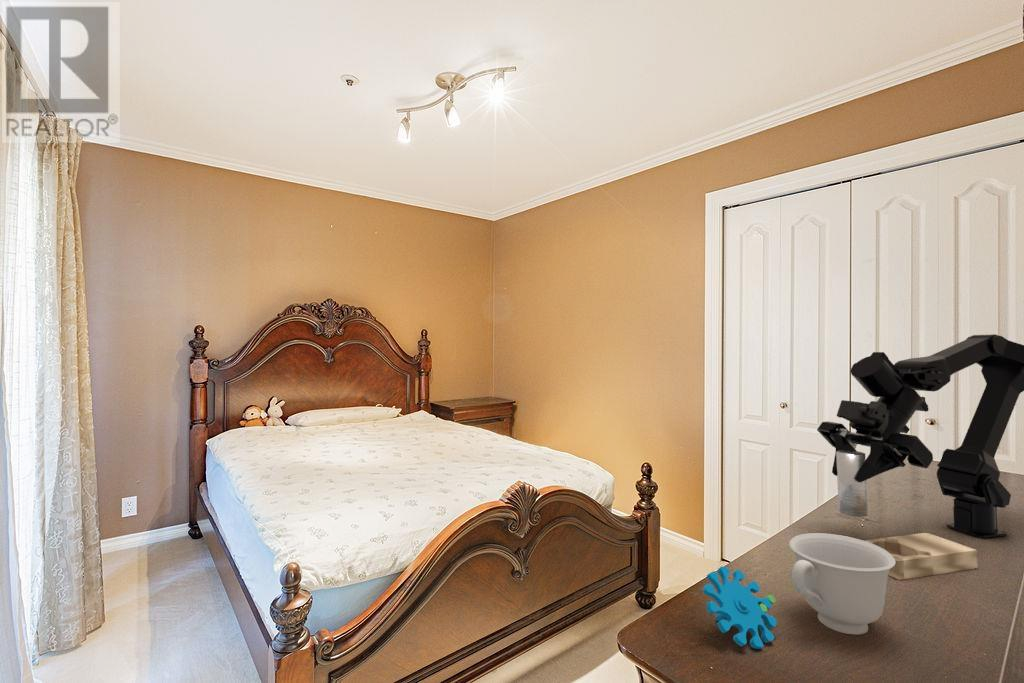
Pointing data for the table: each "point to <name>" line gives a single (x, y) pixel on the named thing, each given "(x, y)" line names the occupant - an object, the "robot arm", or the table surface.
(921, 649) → the table surface
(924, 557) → the jig
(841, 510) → the translucent cylinder
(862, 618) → the teacup
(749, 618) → the gear
